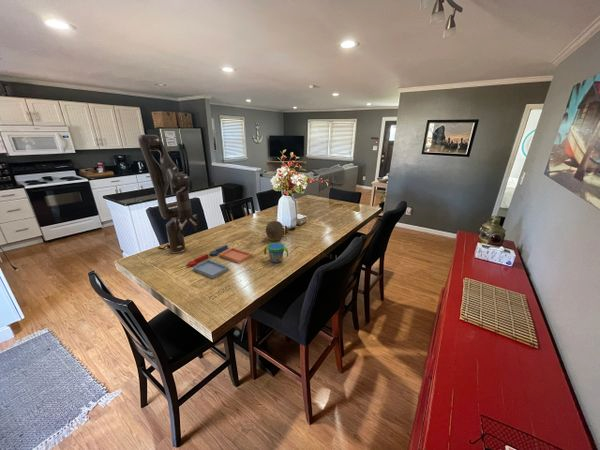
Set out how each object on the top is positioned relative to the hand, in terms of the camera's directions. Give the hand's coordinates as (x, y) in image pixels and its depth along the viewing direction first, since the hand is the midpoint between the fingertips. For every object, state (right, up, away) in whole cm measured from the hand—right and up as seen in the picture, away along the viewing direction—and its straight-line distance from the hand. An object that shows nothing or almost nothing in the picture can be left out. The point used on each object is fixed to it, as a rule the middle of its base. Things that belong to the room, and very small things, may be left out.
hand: (188, 232), depth 150 cm
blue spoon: (+14, -14, +12) cm, 23 cm away
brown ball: (+51, -7, +32) cm, 60 cm away
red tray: (+28, -16, +7) cm, 33 cm away
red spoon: (+6, -18, -1) cm, 19 cm away
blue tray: (+17, -22, -10) cm, 29 cm away
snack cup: (+55, -18, +2) cm, 58 cm away
